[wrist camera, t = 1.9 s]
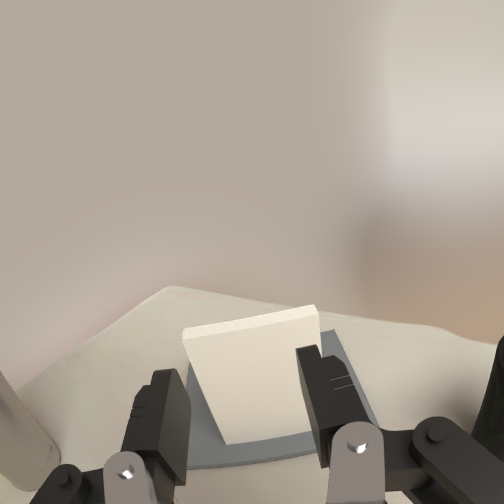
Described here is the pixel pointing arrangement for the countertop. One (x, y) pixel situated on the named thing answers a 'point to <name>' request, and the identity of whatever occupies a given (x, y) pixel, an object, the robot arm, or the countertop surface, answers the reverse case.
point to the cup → (493, 409)
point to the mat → (221, 455)
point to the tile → (254, 372)
